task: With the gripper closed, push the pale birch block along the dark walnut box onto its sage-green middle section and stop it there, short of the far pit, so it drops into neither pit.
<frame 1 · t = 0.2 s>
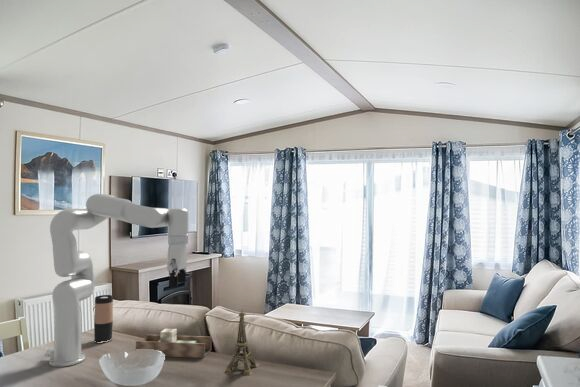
hand: (177, 284, 157), 31 cm above the table, tool pointing down, fingers open, 9 cm apart
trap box: (174, 352, 170), on the table
block: (168, 342, 170), point 4 cm above the table, touching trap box
travel mug: (103, 341, 185), on the table
eiffel tower: (241, 369, 152), on the table
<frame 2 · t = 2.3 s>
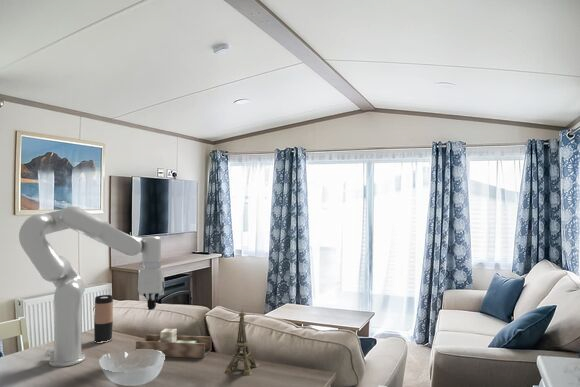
hand: (151, 308, 172), 18 cm above the table, tool pointing down, fingers closed
nothing on the table moved.
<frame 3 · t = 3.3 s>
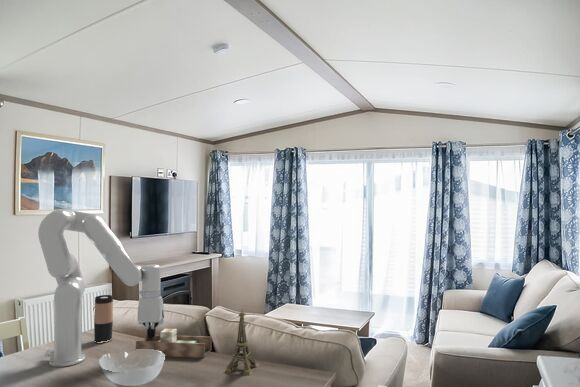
hand: (151, 337, 171), 6 cm above the table, tool pointing down, fingers closed
nothing on the table moved.
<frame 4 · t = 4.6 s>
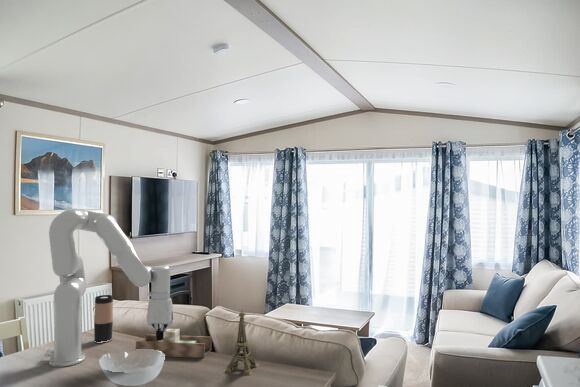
hand: (160, 339, 171), 5 cm above the table, tool pointing down, fingers closed
block: (171, 342, 170), point 4 cm above the table, touching gripper
everything else where it was.
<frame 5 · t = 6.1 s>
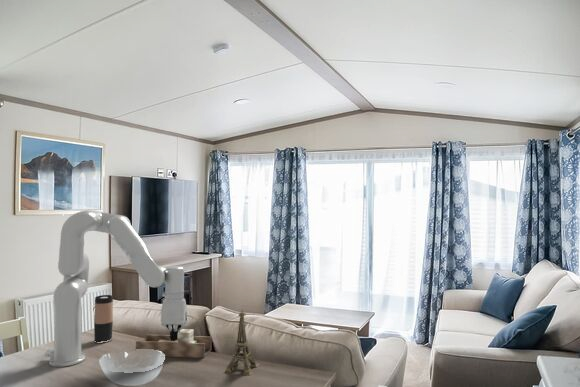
hand: (174, 340, 170), 5 cm above the table, tool pointing down, fingers closed
block: (185, 343, 169), point 4 cm above the table, touching gripper, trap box
everything else where it was.
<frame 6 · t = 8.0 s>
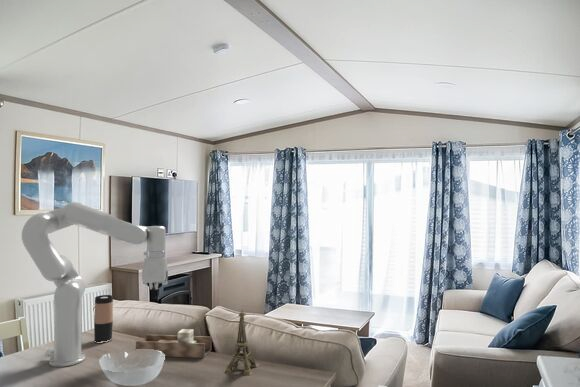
hand: (154, 298, 172), 22 cm above the table, tool pointing down, fingers closed
block: (185, 343, 169), point 4 cm above the table, touching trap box
everything else where it was.
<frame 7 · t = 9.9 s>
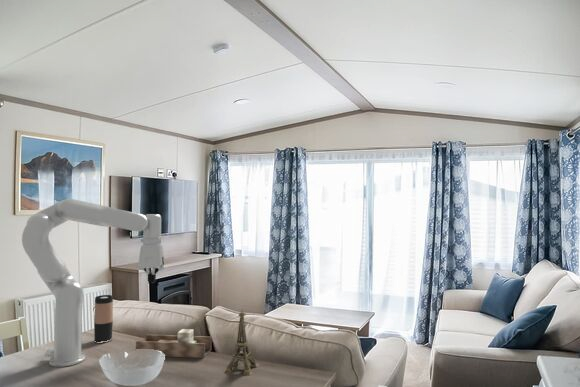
hand: (151, 283, 180), 27 cm above the table, tool pointing down, fingers closed
nothing on the table moved.
at the end: block 0.2 cm from the target spot on the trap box, point 4.0 cm above the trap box's base; block tilted 0°; block moved 7.4 cm from its start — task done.
